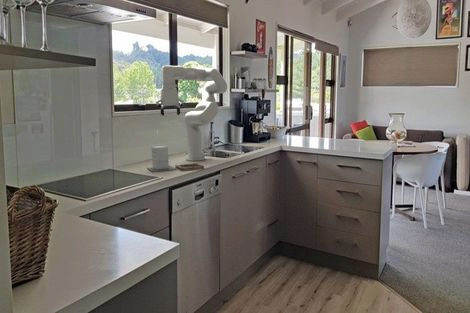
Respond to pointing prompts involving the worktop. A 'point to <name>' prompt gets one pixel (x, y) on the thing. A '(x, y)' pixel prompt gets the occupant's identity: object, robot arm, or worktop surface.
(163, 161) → the supplement box
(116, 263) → the worktop surface
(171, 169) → the rubber mat
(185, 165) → the walnut frame
